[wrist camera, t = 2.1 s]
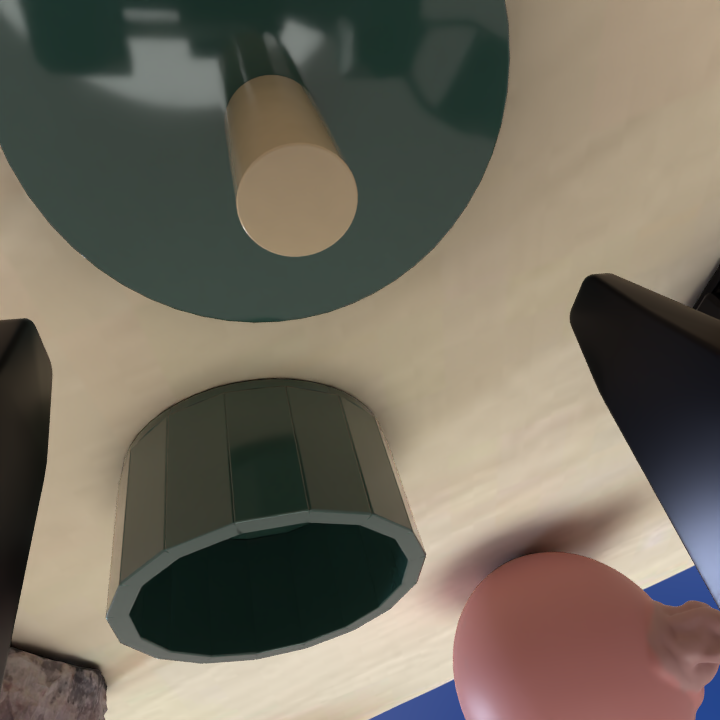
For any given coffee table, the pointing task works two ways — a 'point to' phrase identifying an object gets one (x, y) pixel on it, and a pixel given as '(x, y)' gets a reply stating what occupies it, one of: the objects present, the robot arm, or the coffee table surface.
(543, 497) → the coffee table surface
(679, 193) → the coffee table surface
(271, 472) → the canister
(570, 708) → the balloon
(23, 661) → the geode
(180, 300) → the lid
